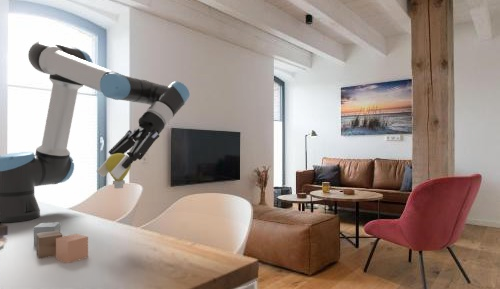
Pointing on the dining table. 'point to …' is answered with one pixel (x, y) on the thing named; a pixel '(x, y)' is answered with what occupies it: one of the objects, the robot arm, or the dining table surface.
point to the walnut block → (47, 243)
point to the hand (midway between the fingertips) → (107, 175)
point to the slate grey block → (45, 228)
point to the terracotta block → (71, 248)
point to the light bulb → (111, 164)
